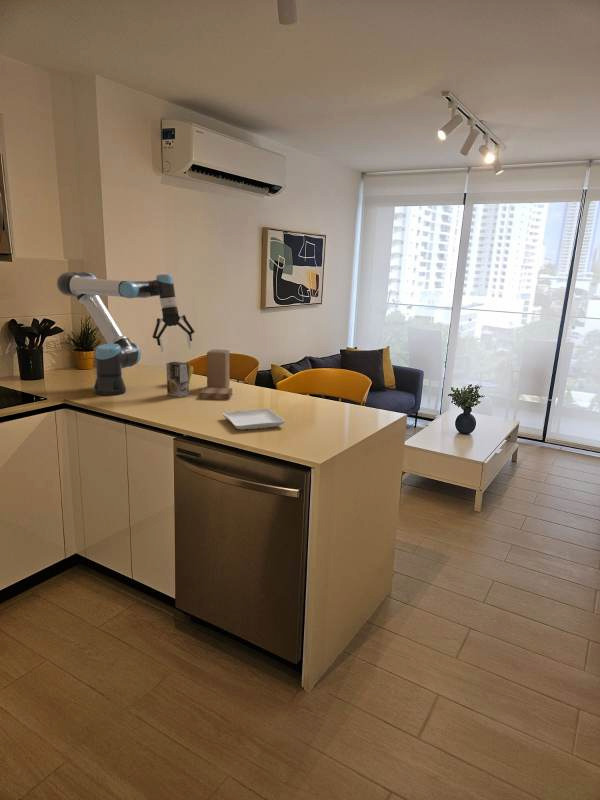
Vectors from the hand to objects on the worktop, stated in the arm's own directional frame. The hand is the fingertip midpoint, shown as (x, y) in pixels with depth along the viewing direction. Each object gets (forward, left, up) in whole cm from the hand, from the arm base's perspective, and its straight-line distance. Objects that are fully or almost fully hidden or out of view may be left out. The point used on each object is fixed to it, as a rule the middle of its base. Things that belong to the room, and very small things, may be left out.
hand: (176, 350), depth 265 cm
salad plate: (+43, -50, -22) cm, 69 cm away
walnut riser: (+21, -5, -22) cm, 30 cm away
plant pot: (-1, +21, -22) cm, 30 cm away
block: (+19, +14, -22) cm, 32 cm away
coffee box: (+2, -5, -22) cm, 22 cm away
